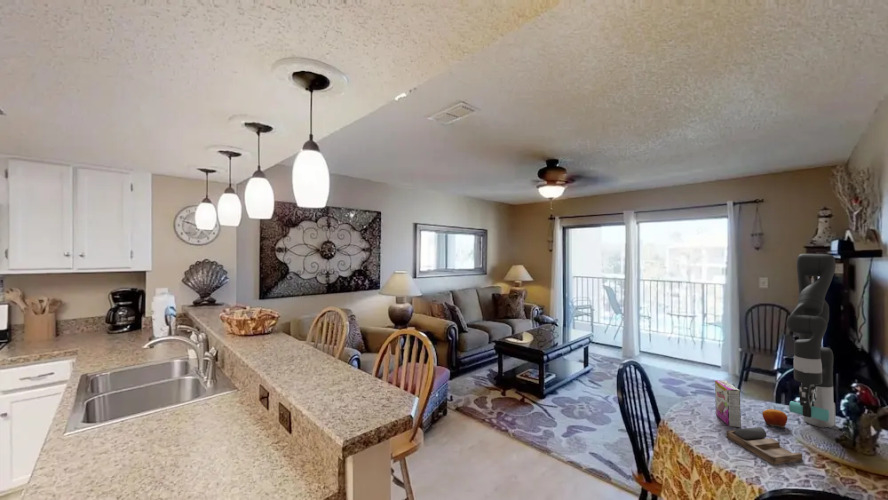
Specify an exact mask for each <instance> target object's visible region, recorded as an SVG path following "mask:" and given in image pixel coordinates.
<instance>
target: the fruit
mask: <svg viewBox="0 0 888 500" xmlns="http://www.w3.org/2000/svg"><path fill="white" fill-rule="evenodd" d="M762 418H763V421H764V422H765V423H766V425H769V426H771V427H772V428H773V427H778V428H782V429H784V430H786V429H785V428H784V427H785V426H786V425H787V423H788V416H787V414H786V413H785V412H784V411H781V410H779V409H775V408H769V409H765V410H763V411H762Z"/></svg>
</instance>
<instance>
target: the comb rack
mask: <svg viewBox="0 0 888 500" xmlns="http://www.w3.org/2000/svg"><path fill="white" fill-rule="evenodd" d="M735 430H736V429H734V430H727V431H726V438H728V439H729V440H731V441H733V442H734V443H736V444H737V445H739V446H741V447H743V448H744V449H746V450H748V451H749V452H751V453H753V454H755V455H756V456H758V457H760V458H761V459H763V460H764V461H767V462H768V463H770V464H771V465H779V464H780V465H781V464H787V463H796V462H803V453H801V452H792V451H790V450H788V449H787V448H784V447H783V446H781V442H780V441H778V440H776V439H774V438H773V437H772V438H760V439H751V440H744V439H742V438H740V437H739V436H737V435H735Z"/></svg>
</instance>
